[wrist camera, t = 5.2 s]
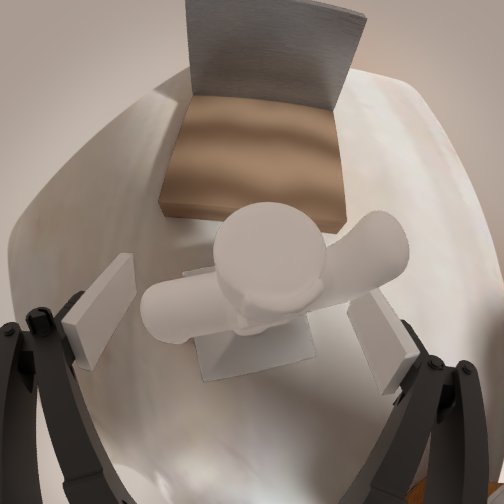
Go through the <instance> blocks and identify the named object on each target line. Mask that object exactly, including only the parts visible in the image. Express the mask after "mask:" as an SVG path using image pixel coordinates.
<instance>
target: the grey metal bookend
mask: <svg viewBox="0 0 504 504" xmlns="http://www.w3.org/2000/svg"><path fill="white" fill-rule="evenodd" d="M185 7H186V22H187V36H188V47H189V61H190V72H191V82H192V92H193V96H219V97H235V98H248V99H258V100H267V101H275V102H282V103H289V104H296V105H302V106H308V107H313V108H318V109H324V110H328V111H333V110H334V108H335V105H336V103H337V100H338V97H339V95H340V92H341V89H342V87H343V84H344V82H345V79H346V76H347V74H348V71H349V68H350V65H351V63H352V60H353V57H354V54H355V52H356V49H357V46H358V44H359V41H360V38H361V35H362V32H363V30H364V27H365V24H366V21H367V18H366V17H365V15H364V14H362V13H359V12H356V11H352V10H349V9H345V8H342V7H338V6H334V5H330V4H326V3H321V2H317V1H312V0H185Z"/></svg>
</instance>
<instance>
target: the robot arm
mask: <svg viewBox="0 0 504 504" xmlns="http://www.w3.org/2000/svg"><path fill="white" fill-rule="evenodd" d="M136 295H137V290H136V281H135V272H134V261H133V253H125V252H121V253H120V254H119V255H118V256H117V257H116V258H115V259H114V260H113V261H112V262H111V264H110V265H109V266H108V267H107V268H106V269H105V270H104V271H103V272H102V273H101V275H100V276H99V277H98V278H97V279H96V280H95V281H94V282H93V284H92V285H91V286H90V287H89V288H88V289H87V290H86V292H85V291H80V292H78V293H77V294H75V295H73V296H72V297H71V299H70V300H69V301H68V303H66V304H65V306H64V308H62V309H61V310H60V311H59V313H58V314H57V315H56V316H55V317H54V318H53V316H52V313H51V311H50V309H48V308H45V307H39V308H36V309H33V310H32V311H30V312H29V313H28V314H27V316H26V322H27V324H28V327H29V329H30V331H21V328H20V326H19V324H17V323H16V322H9V323H6V324H4V325H3V326H2V327H1V328H0V504H43V502H42V496H41V490H40V483H39V474H38V465H37V464H38V463H37V450H36V449H37V448H36V405H37V389H38V388H39V393H40V398H41V403H42V408H43V412H44V416H45V420H46V424H47V428H48V431H49V435H50V438H51V441H52V445H53V448H54V451H55V454H56V457H57V460H58V462H59V465H60V468H61V470H62V473H63V476H64V480H65V481H64V482H63V489H64V492H65V495H66V497H67V499H68V501H69V503H70V504H137V503H136V502H135V501H134V499H133V498H132V497H131V496H130V494H129V493H128V492H127V490H126V488H125V487H124V485H123V483H122V482H121V480H120V479H119V476H118V475H117V473H116V471H115V469H114V467H113V465H112V463H111V461H110V460H109V458H108V456H107V454H106V451H105V449H104V447H103V445H102V443H101V441H100V439H99V436H98V434H97V432H96V430H95V427H94V425H93V422H92V420H91V418H90V415H89V412H88V410H87V407H86V405H85V402H84V399H83V396H82V393H81V390H80V387H79V384H78V381H77V378H76V375H75V372H74V369H73V366H72V363H73V362H74V360H75V359H76V362H77V364H78V366H79V368H82V369H85V370H89V371H93V369H94V368H95V366H96V364H97V362H98V360H99V358H100V356H101V355H102V353H103V351H104V349H105V347H106V345H107V344H108V342H109V340H110V338H111V337H112V335H113V333H114V331H115V330H116V328H117V326H118V324H119V323H120V321H121V319H122V318H123V316H124V314H125V313H126V311H127V309H128V308H129V306H130V304H131V303H132V301H133V299H134V298H135V296H136ZM347 315H348V317H349V319H350V322H351V324H352V326H353V328H354V331H355V333H356V335H357V338H358V340H359V342H360V344H361V347H362V349H363V352H364V354H365V356H366V359H367V361H368V364H369V366H370V368H371V371H372V373H373V376H374V378H375V381H376V383H377V386H378V389H379V391H380V394H381V395H385V394H392V393H395V391H396V390H397V388H398V387H399V385H400V386H401V389H402V392H401V394H400V395H399V396H398V398H397V399H396V400H395V402H394V403H393V404H392V405H395V406H394V408H393V411H392V413H391V415H390V417H389V419H388V421H387V423H386V425H385V427H384V429H383V431H382V433H381V435H380V437H379V439H378V441H377V443H376V445H375V446H374V448H373V450H372V452H371V454H370V455H369V457H368V459H367V461H366V462H365V464H364V466H363V467H362V469H361V471H360V472H359V474H358V475H357V477H356V478H355V480H354V482H353V483H352V485H351V486H350V488H349V489H348V491H347V492H346V493H345V495H344V496H343V498H342V499H341V500H340V502H339V503H338V504H408V502H407V501H406V500H405V496H406V493H407V491H408V489H409V487H410V485H411V482H412V480H413V478H414V476H415V473H416V471H417V468H418V466H419V463H420V461H421V458H422V455H423V453H424V450H425V447H426V444H427V441H428V438H429V435H430V432H431V441H430V453H429V463H428V471H427V479H426V485H425V491H424V497H423V502H422V504H487V500H488V482H489V458H488V439H487V428H486V419H485V411H484V404H483V398H482V392H481V387H480V382H479V377H478V372H477V369H476V367H475V366H474V365H473V364H472V363H471V362H469V361H466V360H462V361H459V363H458V364H457V366H456V367H448V366H445V364H444V362H443V361H442V360H441V359H440V358H438V357H437V356H434V355H429V354H428V352H427V350H426V349H425V347H424V346H423V344H422V342H421V341H420V339H419V338H418V336H417V335H416V333H415V332H414V330H413V328H412V327H411V325H409V324H408V323H407V322H406V321H405V320H400V319H399V317H398V316H397V314H396V313H395V311H394V310H393V308H392V307H391V305H390V304H389V302H388V301H387V299H386V298H385V297H384V295H383V294H382V292H381V291H380V289H379V288H376V289H374V290H372V291H370V292H368V293H367V294H365V295H363V296H361V297H359V298H356V299H354V300H352V301H351V302H350V305H349V308H348V311H347Z"/></svg>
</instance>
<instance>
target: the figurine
mask: <svg viewBox="0 0 504 504" xmlns="http://www.w3.org/2000/svg"><path fill="white" fill-rule="evenodd" d="M213 257H214V264H215V266H209V267H204V268H199V269H194V270H189V271H183V272H182V276H183V278H180V279H174V280H169V281H164V282H160V283H157V284H154V285H152V286H151V287H149V288H148V289H147V290H146V291H145V292H144V294H143V296H142V298H141V303H140V312H141V317H142V321H143V324H144V326H145V328H146V329H147V331H148V332H149V333H150V334H151V335H152V336H153V337H154V338H156V339H157V340H159V341H162V342H166V343H173V344H182V343H185V342H186V341H188V340H189V338H192V337H194V342H195V347H196V352H197V356H198V361H199V366H200V370H201V374H202V379H203V382H209V381H215V380H220V379H226V378H231V377H236V376H241V375H245V374H250V373H254V372H259V371H263V370H267V369H271V368H275V367H279V366H283V365H287V364H291V363H294V362H298V361H302V360H305V359H309V358H312V357H315V356H316V352H315V348H314V344H313V340H312V336H311V332H310V328H309V324H308V321H307V317H306V314H307V312H311V311H314V310H318V309H322V308H326V307H329V306H333V305H337V304H342V303H346V302H349V301H352V300H354V299H356V298H359V297H361V296H363V295H365V294H367V293H368V292H370V291H372V290H374V289H376V288H378V287H380V286H382V285H384V284H385V283H387V282H389V281H391V280H393V279H395V278H396V277H398V276H399V275H400V274H401V273H402V272H403V271H404V270H405V268H406V266H407V264H408V261H409V244H408V240H407V237H406V234H405V232H404V230H403V228H402V226H401V224H400V223H399V222H398V221H397V219H396V218H395V217H394V216H392V215H391V214H389V213H387V212H385V211H373V212H370V213H369V214H367V215H366V216H364V217H363V218H362V219H361V220H360V221H359V223H358V224H357V225H356V226H355V227H354V228H353V229H352V230H351V231H350V232H349V233H348V234H346V235H345V236H344V237H343V238H342V239H340V240H339V241H337V242H336V243H334V244H332V245H331V246H329V247H327V248H326V245H325V241H324V238H323V236H322V233H321V231H320V230H319V228H318V227H317V225H316V224H315V223H314V222H313V221H312V220H311V219H310V218H309V217H308V216H307V215H306V214H304V213H303V212H301V211H299V210H298V209H296V208H294V207H291V206H289V205H286V204H281V203H275V202H260V203H255V204H250V205H248V206H245V207H243V208H241V209H239V210H237V211H235V212H234V213H233V214H231V215H230V216H229V217H228V218H227V219H226V220H225V221H224V222H223V224H222V225H221V227H220V228H219V230H218V232H217V234H216V237H215V240H214V246H213Z"/></svg>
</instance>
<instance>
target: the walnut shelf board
mask: <svg viewBox="0 0 504 504" xmlns="http://www.w3.org/2000/svg"><path fill="white" fill-rule="evenodd" d="M260 202H275V203H281V204H286V205H289V206H291V207H294V208H296V209H298V210H299V211H301V212H303V213H304V214H306V215H307V216H308V217H309V218H310V219H311V220H312V221H313V222H314V223H315V224H316V225H317V227H318V228H319V230H320V231H321V232H324V233H332V234H337V233H338V232H339V231H340V229H341V228H342V227H343V226H344V224H345V223H346V222H347V216H346V204H345V194H344V184H343V175H342V167H341V159H340V152H339V145H338V138H337V132H336V126H335V120H334V114H333V111H328V110H324V109H318V108H313V107H308V106H302V105H296V104H289V103H282V102H275V101H267V100H258V99H248V98H235V97H219V96H193V97H192V99H191V102H190V104H189V107H188V110H187V112H186V115H185V118H184V121H183V123H182V126H181V129H180V132H179V135H178V138H177V141H176V144H175V147H174V150H173V153H172V156H171V159H170V162H169V166H168V169H167V172H166V176H165V179H164V182H163V186H162V189H161V193H160V197H159V200H158V203H159V205H160V207H161V209H162V212H163V214H164V216H166V217H178V218H190V219H201V220H212V221H223V222H224V221H225V220H226V219H227V218H228V217H229V216H230V215H231V214H233V213H234V212H235V211H237V210H239V209H241V208H243V207H245V206H248V205H250V204H255V203H260Z"/></svg>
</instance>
